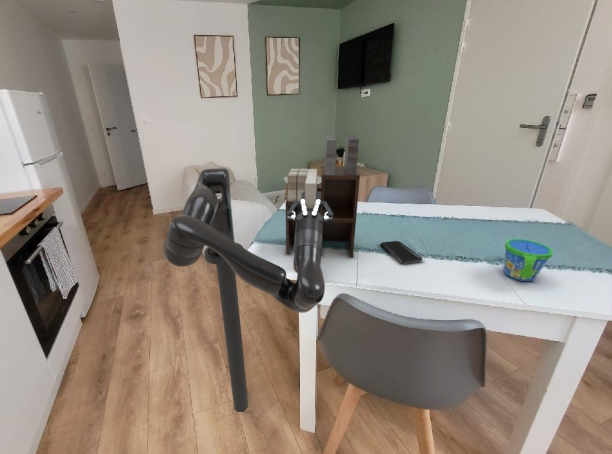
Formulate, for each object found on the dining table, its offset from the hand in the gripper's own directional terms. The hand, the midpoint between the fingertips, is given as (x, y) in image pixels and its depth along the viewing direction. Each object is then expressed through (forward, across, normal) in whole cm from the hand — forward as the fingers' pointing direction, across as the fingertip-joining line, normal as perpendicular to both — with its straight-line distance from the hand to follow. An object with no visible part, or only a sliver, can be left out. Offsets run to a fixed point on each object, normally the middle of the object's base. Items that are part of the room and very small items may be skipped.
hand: (311, 192), depth 89 cm
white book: (+1, 0, -6) cm, 6 cm away
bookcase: (0, +3, -30) cm, 30 cm away
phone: (-2, +32, -29) cm, 43 cm away
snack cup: (-12, +64, -24) cm, 69 cm away
